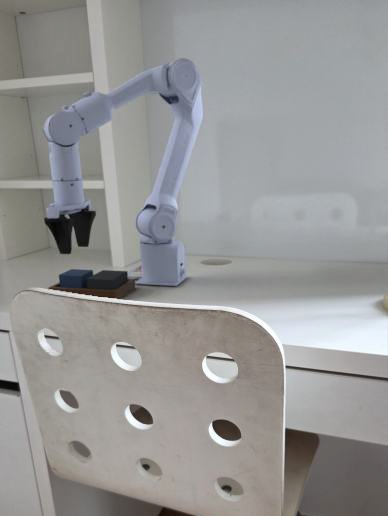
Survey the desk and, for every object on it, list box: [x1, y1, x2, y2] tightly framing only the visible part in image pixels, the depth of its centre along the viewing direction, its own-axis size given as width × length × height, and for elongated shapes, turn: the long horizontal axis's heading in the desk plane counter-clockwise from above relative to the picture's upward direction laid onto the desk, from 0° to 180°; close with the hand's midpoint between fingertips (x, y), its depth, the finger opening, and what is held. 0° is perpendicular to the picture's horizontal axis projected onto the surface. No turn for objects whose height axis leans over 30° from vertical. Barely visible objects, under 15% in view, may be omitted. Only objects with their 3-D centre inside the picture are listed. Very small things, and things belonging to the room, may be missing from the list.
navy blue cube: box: [58, 268, 94, 289], centre depth 108 cm, size 5×5×4 cm
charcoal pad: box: [86, 269, 128, 290], centre depth 107 cm, size 6×8×3 cm
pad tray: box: [48, 279, 136, 300], centre depth 108 cm, size 15×10×2 cm
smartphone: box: [127, 265, 142, 280], centre depth 125 cm, size 7×1×15 cm
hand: (74, 250), depth 107 cm, fingers open, 7 cm apart
